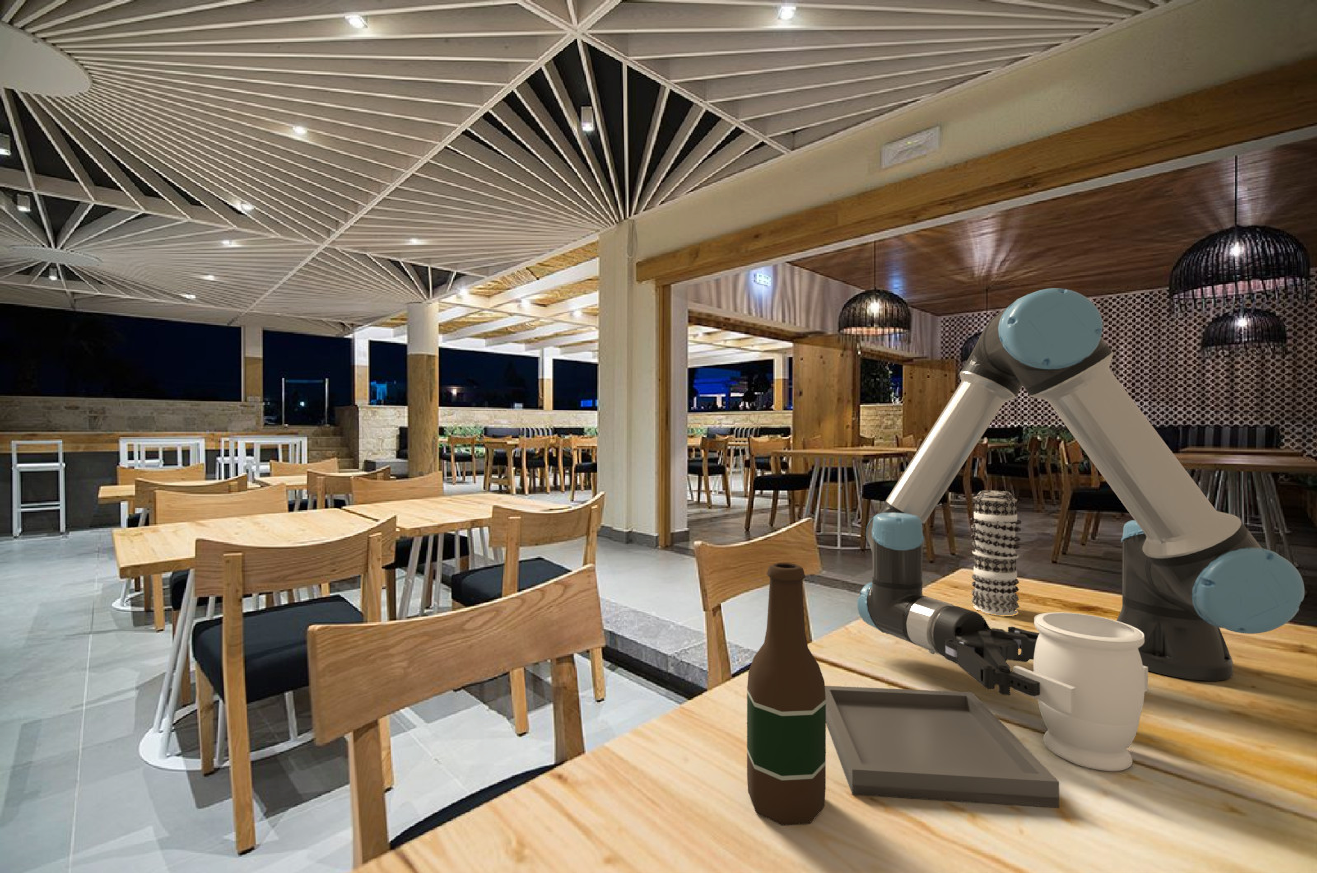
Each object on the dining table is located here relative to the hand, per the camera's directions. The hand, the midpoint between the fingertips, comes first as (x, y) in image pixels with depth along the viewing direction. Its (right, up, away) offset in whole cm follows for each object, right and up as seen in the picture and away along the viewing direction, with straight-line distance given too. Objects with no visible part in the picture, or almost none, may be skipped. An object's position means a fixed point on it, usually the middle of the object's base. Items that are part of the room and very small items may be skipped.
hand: (1111, 689), depth 65 cm
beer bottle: (-38, -9, -7) cm, 40 cm away
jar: (-1, -9, +3) cm, 9 cm away
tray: (-20, -8, +4) cm, 22 cm away
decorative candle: (+20, -8, +57) cm, 61 cm away
